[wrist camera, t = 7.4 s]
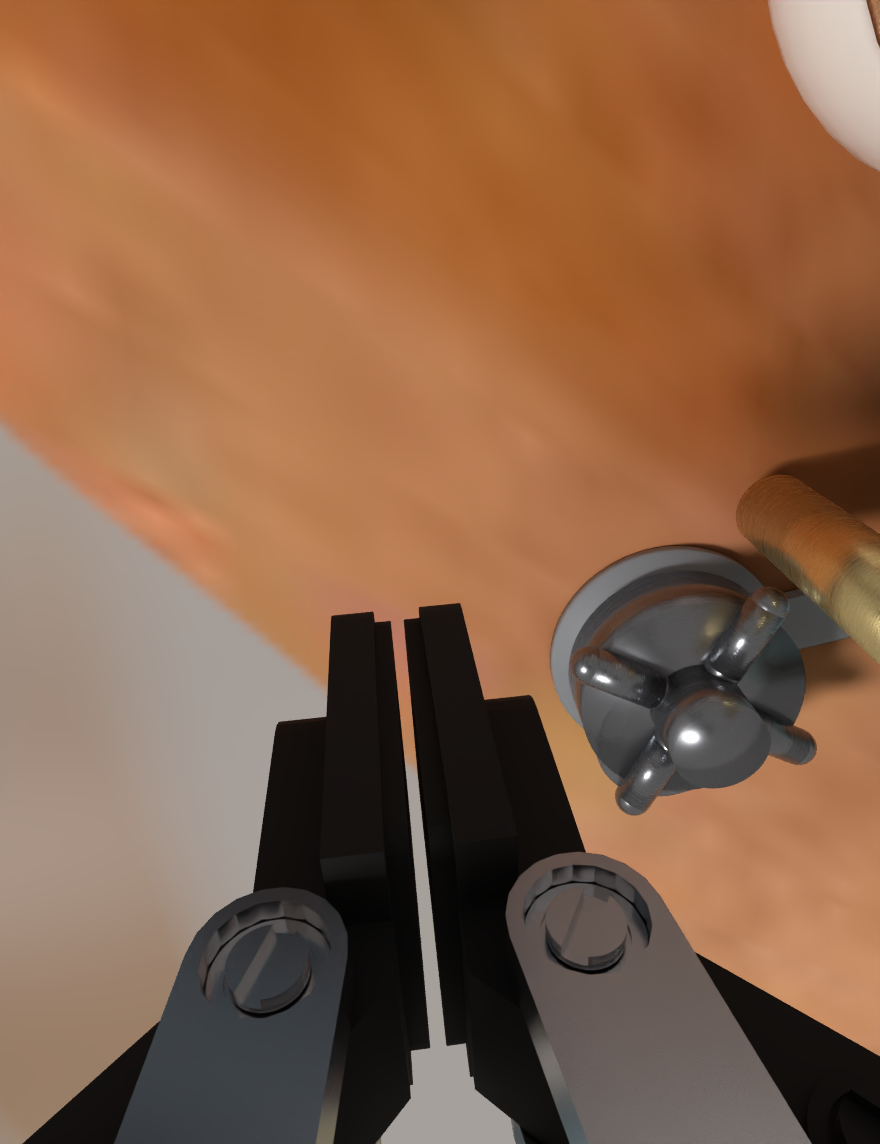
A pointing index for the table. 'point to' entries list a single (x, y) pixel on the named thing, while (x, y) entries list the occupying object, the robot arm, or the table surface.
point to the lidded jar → (835, 66)
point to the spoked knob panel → (800, 623)
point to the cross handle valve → (720, 652)
